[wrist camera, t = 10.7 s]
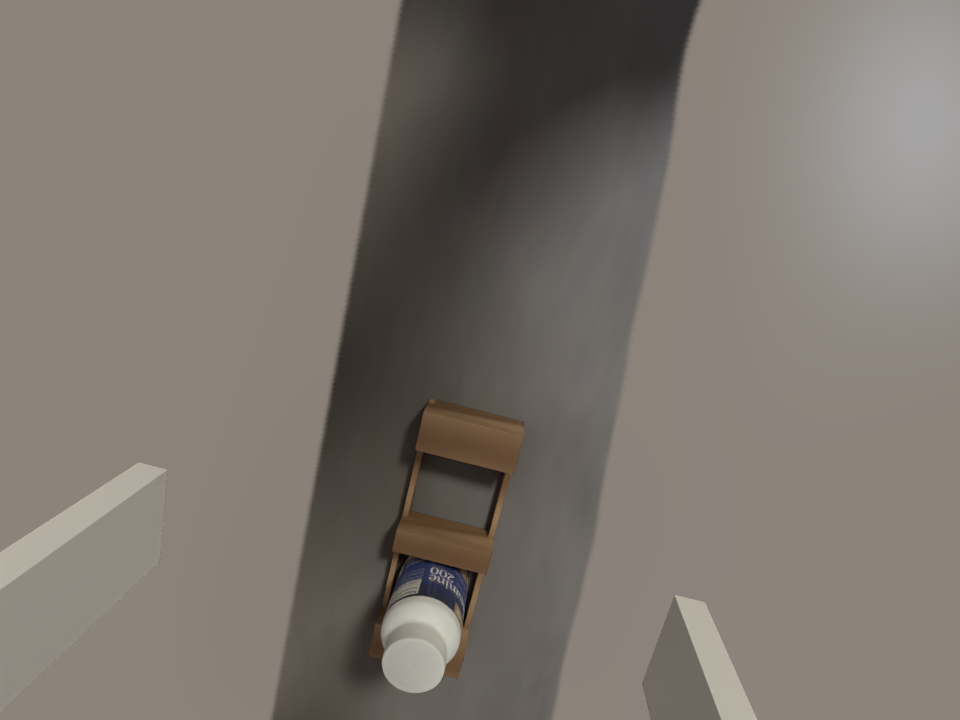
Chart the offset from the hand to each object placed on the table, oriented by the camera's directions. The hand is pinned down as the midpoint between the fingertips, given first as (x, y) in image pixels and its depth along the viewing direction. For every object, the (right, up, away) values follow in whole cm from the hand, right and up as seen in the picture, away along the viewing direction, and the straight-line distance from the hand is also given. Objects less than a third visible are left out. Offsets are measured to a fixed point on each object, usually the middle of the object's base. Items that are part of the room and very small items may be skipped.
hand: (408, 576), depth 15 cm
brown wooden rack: (-1, -8, +30) cm, 31 cm away
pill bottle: (-2, -11, +31) cm, 33 cm away
